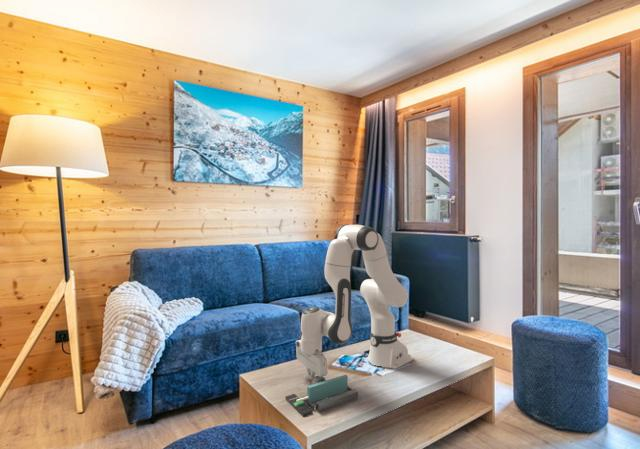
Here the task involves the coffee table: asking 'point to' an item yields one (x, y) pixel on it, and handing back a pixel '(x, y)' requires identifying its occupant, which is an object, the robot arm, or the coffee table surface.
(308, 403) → the gauge frame
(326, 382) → the gauge plate
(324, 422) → the coffee table surface
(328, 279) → the robot arm
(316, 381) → the mineral specimen
